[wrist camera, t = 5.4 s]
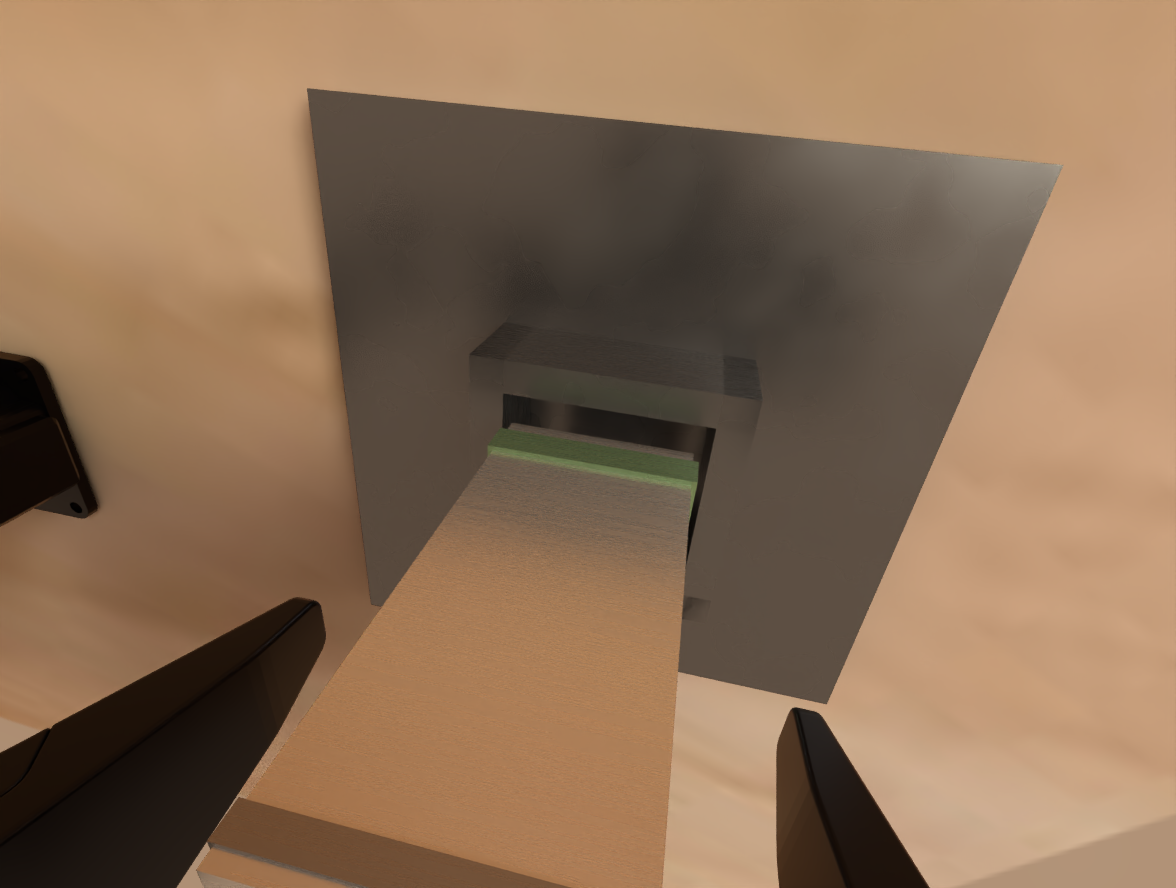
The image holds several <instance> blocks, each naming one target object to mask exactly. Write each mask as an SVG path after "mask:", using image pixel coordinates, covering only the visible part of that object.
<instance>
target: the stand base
mask: <svg viewBox="0 0 1176 888" xmlns="http://www.w3.org/2000/svg"><path fill="white" fill-rule="evenodd" d="M307 92H308V100H309V108H310V116H311V124H312V132H313V140H314V148H315V156H316V165H317V173H318V181H319V189H320V197H321V205H322V213H323V221H324V229H325V237H326V245H327V253H328V261H329V269H330V277H331V285H332V293H333V301H334V309H335V317H336V325H337V333H338V342H339V350H340V358H341V366H342V374H343V382H344V390H345V398H346V406H347V414H348V422H349V430H350V438H351V446H352V454H353V462H354V470H355V478H356V486H357V494H358V502H359V510H360V519H361V527H362V535H363V543H364V551H365V559H366V567H367V575H368V583H369V591H370V599H371V604H372V605H376V606H381V607H382V606H383V605H384V603H385V602H386V600H387V599H388V598H389V596H390V595H391V593H392V592H393V590H394V589H395V588H396V586H397V585H398V583H399V582H400V581H401V579H402V578H403V576H404V575H405V573H406V572H407V571H408V569H409V568H410V566H411V565H412V564H413V562H414V561H415V559H416V558H417V556H418V555H419V554H420V552H421V551H422V549H423V548H424V547H425V545H426V544H427V542H428V541H429V539H430V538H431V537H432V535H433V534H434V532H435V531H436V530H437V528H438V527H439V525H440V524H441V522H442V521H443V520H444V518H445V517H446V515H447V514H448V513H449V511H450V510H451V508H452V507H453V505H454V504H455V503H456V501H457V500H458V498H459V497H460V496H461V494H462V493H463V491H464V490H465V488H466V487H467V486H468V484H469V483H470V481H471V480H472V479H473V477H474V476H475V474H476V473H477V471H478V470H479V469H480V467H481V466H482V464H483V463H484V462H485V460H486V459H487V457H488V444H489V443H490V441H491V440H492V439H493V437H494V436H495V435H496V433H497V432H498V430H499V429H500V428H505V429H508V428H509V426H510V425H511V423H518V424H524V425H529V426H535V427H541V428H547V429H553V430H558V431H564V432H570V433H576V434H582V435H588V436H593V437H599V438H605V439H611V440H617V441H623V442H628V443H634V444H640V445H646V446H652V447H657V448H663V449H669V450H675V451H681V452H687V453H692V454H694V458H693V461H695V462H699V466H698V483H697V488H696V492H695V497H694V502H693V506H692V511H691V516H690V520H689V526H688V540H687V554H686V568H685V581H684V595H683V609H682V622H681V636H680V650H679V663H678V672H682V673H686V674H691V675H695V676H700V677H704V678H709V679H714V680H718V681H723V682H727V683H732V684H736V685H741V686H745V687H750V688H755V689H759V690H764V691H768V692H773V693H777V694H782V695H786V696H791V697H796V698H800V699H805V700H809V701H814V702H818V703H823V704H827V702H828V700H829V698H830V695H831V693H832V691H833V689H834V686H835V684H836V682H837V680H838V677H839V675H840V673H841V670H842V668H843V666H844V664H845V661H846V659H847V657H848V654H849V652H850V650H851V648H852V645H853V643H854V641H855V639H856V636H857V634H858V632H859V629H860V627H861V625H862V623H863V620H864V618H865V616H866V613H867V611H868V609H869V607H870V604H871V602H872V600H873V598H874V595H875V593H876V591H877V588H878V586H879V584H880V582H881V579H882V577H883V575H884V572H885V570H886V568H887V566H888V563H889V561H890V559H891V557H892V554H893V552H894V550H895V547H896V545H897V543H898V541H899V538H900V536H901V534H902V531H903V529H904V527H905V525H906V522H907V520H908V518H909V516H910V513H911V511H912V509H913V506H914V504H915V502H916V500H917V497H918V495H919V493H920V490H921V488H922V486H923V484H924V481H925V479H926V477H927V474H928V472H929V470H930V468H931V465H932V463H933V461H934V459H935V456H936V454H937V452H938V449H939V447H940V445H941V443H942V440H943V438H944V436H945V433H946V431H947V429H948V427H949V424H950V422H951V420H952V418H953V415H954V413H955V411H956V408H957V406H958V404H959V402H960V399H961V397H962V395H963V392H964V390H965V388H966V386H967V383H968V381H969V379H970V377H971V374H972V372H973V370H974V367H975V365H976V363H977V361H978V358H979V356H980V354H981V351H982V349H983V347H984V345H985V342H986V340H987V338H988V336H989V333H990V331H991V329H992V326H993V324H994V322H995V320H996V317H997V315H998V313H999V310H1000V308H1001V306H1002V304H1003V301H1004V299H1005V297H1006V295H1007V292H1008V290H1009V288H1010V285H1011V283H1012V281H1013V279H1014V276H1015V274H1016V272H1017V269H1018V267H1019V265H1020V263H1021V260H1022V258H1023V256H1024V254H1025V251H1026V249H1027V247H1028V244H1029V242H1030V240H1031V238H1032V235H1033V233H1034V231H1035V228H1036V226H1037V224H1038V222H1039V219H1040V217H1041V215H1042V212H1043V210H1044V208H1045V206H1046V203H1047V201H1048V199H1049V197H1050V194H1051V192H1052V190H1053V187H1054V185H1055V183H1056V181H1057V178H1058V176H1059V174H1060V171H1061V169H1062V167H1063V165H1057V164H1047V163H1037V162H1027V161H1017V160H1008V159H998V158H988V157H978V156H968V155H958V154H948V153H939V152H929V151H919V150H909V149H899V148H889V147H879V146H870V145H860V144H850V143H840V142H830V141H820V140H810V139H801V138H791V137H781V136H771V135H761V134H751V133H741V132H732V131H722V130H712V129H702V128H692V127H682V126H672V125H663V124H653V123H643V122H633V121H623V120H613V119H603V118H594V117H584V116H574V115H564V114H554V113H544V112H534V111H525V110H515V109H505V108H495V107H485V106H475V105H465V104H456V103H446V102H436V101H426V100H416V99H406V98H396V97H387V96H377V95H367V94H357V93H347V92H337V91H327V90H318V89H308V88H307Z"/></svg>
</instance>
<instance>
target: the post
mask: <svg viewBox="0 0 1176 888" xmlns="http://www.w3.org/2000/svg"><path fill="white" fill-rule="evenodd" d="M693 458H694V454H692V453H687V452H681V451H675V450H669V449H663V448H657V447H652V446H646V445H640V444H634V443H628V442H623V441H617V440H611V439H605V438H599V437H593V436H588V435H582V434H576V433H570V432H564V431H558V430H553V429H547V428H541V427H535V426H529V425H524V424H518V423H511V425H510V426H509V428H508V429H505V428H500V429H499V430H498V432H497V433H496V435H495V436H494V437H493V439H492V440H491V441H490V443H489V444H488V457H487V459H486V460H485V462H484V463H483V464H482V466H481V467H480V469H479V470H478V471H477V473H476V474H475V476H474V477H473V479H472V480H471V481H470V483H469V484H468V486H467V487H466V488H465V490H464V491H463V493H462V494H461V496H460V497H459V498H458V500H457V501H456V503H455V504H454V505H453V507H452V508H451V510H450V511H449V513H448V514H447V515H446V517H445V518H444V520H443V521H442V522H441V524H440V525H439V527H438V528H437V530H436V531H435V532H434V534H433V535H432V537H431V538H430V539H429V541H428V542H427V544H426V545H425V547H424V548H423V549H422V551H421V552H420V554H419V555H418V556H417V558H416V559H415V561H414V562H413V564H412V565H411V566H410V568H409V569H408V571H407V572H406V573H405V575H404V576H403V578H402V579H401V581H400V582H399V583H398V585H397V586H396V588H395V589H394V590H393V592H392V593H391V595H390V596H389V598H388V599H387V600H386V602H385V603H384V605H383V606H382V607H381V609H380V610H379V612H378V613H377V615H376V616H375V617H374V619H373V620H372V622H371V623H370V624H369V626H368V627H367V629H366V630H365V631H364V633H363V634H362V636H361V637H360V639H359V640H358V641H357V643H356V644H355V646H354V647H353V648H352V650H351V651H350V653H349V654H348V656H347V657H346V658H345V660H344V661H343V663H342V664H341V665H340V667H339V668H338V670H337V671H336V673H335V674H334V675H333V677H332V678H331V680H330V681H329V682H328V684H327V685H326V687H325V688H324V690H323V691H322V692H321V694H320V695H319V697H318V698H317V699H316V701H315V702H314V704H313V705H312V707H311V708H310V709H309V711H308V712H307V714H306V715H305V716H304V718H303V719H302V721H301V722H300V724H299V725H298V726H297V728H296V729H295V731H294V732H293V733H292V735H291V736H290V738H289V739H288V741H287V742H286V743H285V745H284V746H283V748H282V749H281V750H280V752H279V753H278V755H277V756H276V758H275V759H274V760H273V762H272V763H271V765H270V766H269V767H268V769H267V770H266V772H265V773H264V775H263V776H262V777H261V779H260V780H259V782H258V783H257V784H256V786H255V787H254V789H253V790H252V792H251V793H250V794H249V796H248V797H247V799H244V798H240V797H238V799H237V801H236V802H235V803H234V804H233V806H232V807H231V809H230V810H229V811H228V813H227V814H226V816H225V817H224V819H223V820H222V821H221V822H220V824H219V825H218V827H217V828H216V830H215V831H214V832H213V834H212V835H211V836H210V838H209V839H208V841H207V843H208V845H209V847H210V851H209V852H208V854H207V855H206V857H205V858H204V860H203V861H202V862H201V864H200V865H199V867H198V868H197V869H196V871H197V873H198V876H199V878H200V880H201V882H202V884H203V886H204V888H662V883H663V869H664V855H665V841H666V828H667V814H668V800H669V787H670V773H671V759H672V746H673V732H674V718H675V704H676V691H677V677H678V663H679V650H680V636H681V622H682V609H683V595H684V581H685V568H686V554H687V540H688V526H689V520H690V516H691V511H692V506H693V502H694V497H695V492H696V488H697V483H698V466H699V462H695V461H693Z"/></svg>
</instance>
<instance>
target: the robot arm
mask: <svg viewBox="0 0 1176 888" xmlns="http://www.w3.org/2000/svg"><path fill="white" fill-rule="evenodd" d="M34 508H35V509H39V510H44V511H49V512H53V513H58V514H63V515H67V516H72V517H77V518H86V517H88V516H90V515H91V514H93V513H94V512H96V511H97V509H98V506H97V503H96V500H95V498H94V495H93V492H92V490H91V487H90V485H89V482H88V480H87V477H86V475H85V472H84V469H83V467H82V464H81V462H80V459H79V457H78V454H77V451H76V449H75V446H74V444H73V441H72V439H71V436H70V433H69V431H68V428H67V426H66V423H65V421H64V418H63V415H62V413H61V410H60V408H59V405H58V403H57V400H56V397H55V395H54V392H53V390H52V387H51V385H50V382H49V380H48V377H47V374H46V372H45V370H44V368H43V367H42V366H41V365H40V364H39V363H38V362H37V361H36V360H34V359H33V358H30V357H26V356H21V355H15V354H9V353H3V352H0V527H1V526H3V525H4V524H6V523H8V522H10V521H12V520H14V519H15V518H17V517H19V516H21V515H23V514H24V513H26V512H28V511H30V510H32V509H34ZM325 640H326V632H325V626H324V621H323V615H322V610H321V606H320V604H319V603H318V602H317V601H314V600H310V599H305V598H300V597H296V598H292V599H290V600H288V601H286V602H284V603H282V604H280V605H278V606H277V607H275V608H273V609H271V610H269V611H267V612H265V613H263V614H262V615H260V616H258V617H256V618H254V619H252V620H250V621H248V622H246V623H245V624H243V625H241V626H239V627H237V628H235V629H233V630H231V631H230V632H228V633H226V634H224V635H222V636H220V637H218V638H216V639H214V640H213V641H211V642H209V643H207V644H205V645H203V646H201V647H199V648H197V649H196V650H194V651H192V652H190V653H188V654H186V655H184V656H182V657H181V658H179V659H177V660H175V661H173V662H171V663H169V664H167V665H165V666H164V667H162V668H160V669H158V670H156V671H154V672H152V673H150V674H149V675H147V676H145V677H143V678H141V679H139V680H137V681H135V682H133V683H132V684H130V685H128V686H126V687H124V688H122V689H120V690H118V691H116V692H115V693H113V694H111V695H109V696H107V697H105V698H103V699H101V700H100V701H98V702H96V703H94V704H92V705H90V706H88V707H86V708H84V709H83V710H81V711H79V712H77V713H75V714H73V715H71V716H69V717H68V718H66V719H64V720H62V721H60V722H58V723H56V724H55V725H53V727H52V728H51V729H50V728H47V729H45V730H43V731H41V732H39V733H37V734H35V735H33V736H31V737H30V738H28V739H26V740H24V741H22V742H20V743H18V744H16V745H14V746H12V747H10V748H9V749H7V750H5V751H3V752H1V753H0V888H177V886H178V885H179V883H180V882H181V880H182V878H183V877H184V875H185V874H186V872H187V871H188V869H189V868H190V866H191V865H192V863H193V862H194V860H195V859H196V857H197V856H198V854H199V853H200V851H201V850H202V848H203V847H204V845H205V844H206V842H207V840H208V839H209V837H210V836H211V834H212V833H213V831H214V830H215V828H216V827H217V825H218V824H219V822H220V821H221V819H222V818H223V816H224V815H225V813H226V811H227V810H228V809H229V807H230V805H231V804H232V802H233V801H234V799H235V798H236V796H237V795H238V793H239V792H240V790H241V789H242V787H243V786H244V784H245V783H246V781H247V780H248V778H249V777H250V775H251V773H252V772H253V770H254V769H255V767H256V766H257V764H258V763H259V761H260V760H261V758H262V757H263V755H264V754H265V752H266V751H267V749H268V748H269V746H270V745H271V743H272V741H273V740H274V738H275V737H276V735H277V733H278V732H279V730H280V728H281V726H282V725H283V723H284V721H285V719H286V717H287V716H288V714H289V712H290V710H291V708H292V706H293V704H294V702H295V700H296V698H297V697H298V695H299V693H300V691H301V689H302V687H303V685H304V683H305V681H306V680H307V678H308V676H309V674H310V672H311V670H312V668H313V666H314V664H315V662H316V661H317V659H318V657H319V655H320V653H321V651H322V649H323V647H324V644H325ZM776 841H777V867H778V879H779V888H930V887H929V886H928V884H927V883H926V881H925V879H924V878H923V876H922V875H921V873H920V872H919V870H918V868H917V867H916V865H915V864H914V862H913V860H912V859H911V857H910V856H909V854H908V852H907V851H906V849H905V848H904V846H903V844H902V843H901V841H900V840H899V838H898V836H897V835H896V833H895V832H894V830H893V829H892V827H891V825H890V824H889V822H888V821H887V819H886V817H885V816H884V814H883V813H882V811H881V809H880V808H879V806H878V805H877V803H876V801H875V800H874V798H873V797H872V795H871V794H870V792H869V790H868V789H867V787H866V786H865V784H864V782H863V781H862V779H861V778H860V776H859V774H858V773H857V771H856V770H855V768H854V766H853V765H852V763H851V762H850V760H849V758H848V757H847V755H846V754H845V752H844V751H843V749H842V747H841V746H840V744H839V743H838V741H837V739H836V738H835V736H834V735H833V733H832V731H831V730H830V728H829V727H828V725H827V723H826V722H825V720H824V719H823V717H822V716H821V715H820V714H819V713H817V712H815V711H810V710H806V709H801V708H792V709H791V710H790V712H789V714H788V716H787V719H786V722H785V724H784V727H783V729H782V732H781V734H780V737H779V740H778V744H777V755H776Z"/></svg>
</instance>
